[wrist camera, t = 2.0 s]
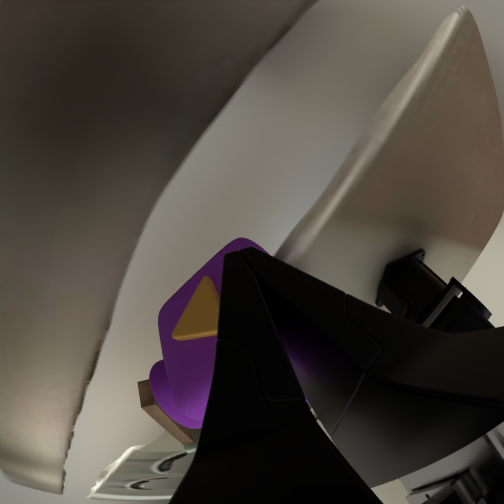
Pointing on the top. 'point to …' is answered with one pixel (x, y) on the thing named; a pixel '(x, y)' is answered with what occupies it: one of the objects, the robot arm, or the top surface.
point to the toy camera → (191, 342)
